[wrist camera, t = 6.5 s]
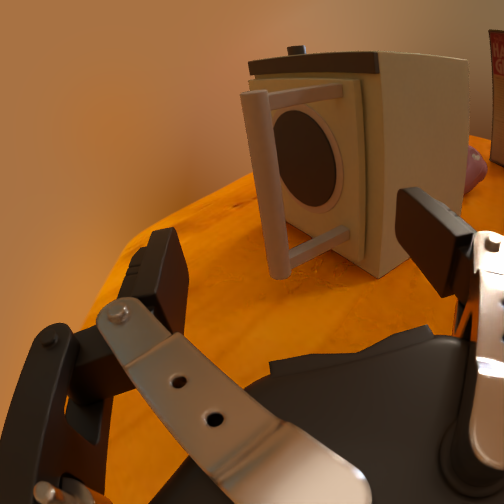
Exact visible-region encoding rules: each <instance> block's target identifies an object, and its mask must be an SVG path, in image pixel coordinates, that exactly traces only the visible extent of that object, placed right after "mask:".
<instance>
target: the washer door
mask: <svg viewBox="0 0 504 504" xmlns="http://www.w3.org/2000/svg"><path fill="white" fill-rule="evenodd" d="M248 82H249V88H250V91H247V92H243V93H241V94H240V98H241V104H242V110H243V115H244V121H245V127H246V133H247V139H248V145H249V150H250V156H251V162H252V168H253V174H254V180H255V186H256V192H257V198H258V205H259V211H260V217H261V223H262V229H263V235H264V242H265V248H266V254H267V261H268V267H269V273H270V276H271V277H272V278H273V279H276V280H283V279H286V278H288V277H289V276H290V274H291V269H293V268H295V267H297V266H299V265H301V264H303V263H305V262H307V261H309V260H311V259H313V258H315V257H317V256H318V255H320V254H322V253H324V252H326V251H328V250H330V249H332V248H336V249H337V250H339V251H341V252H342V253H344V254H345V255H347V256H349V257H350V258H352V259H353V260H355V261H357V262H359V261H361V260H363V259H364V247H365V208H366V180H365V142H364V122H363V107H362V94H361V83H360V80H359V79H344V78H269V79H253V80H249V81H248ZM285 218H286V219H288V220H289V221H291V222H293V223H294V224H296V225H298V226H299V227H301V228H303V229H304V230H306V231H308V232H309V233H311V234H313V235H314V236H316V237H315V238H313V239H311V240H309V241H307V242H305V243H302V244H300V245H298V246H296V247H294V248H292V249H290V250H289V247H288V238H287V229H286V221H285Z"/></svg>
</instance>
